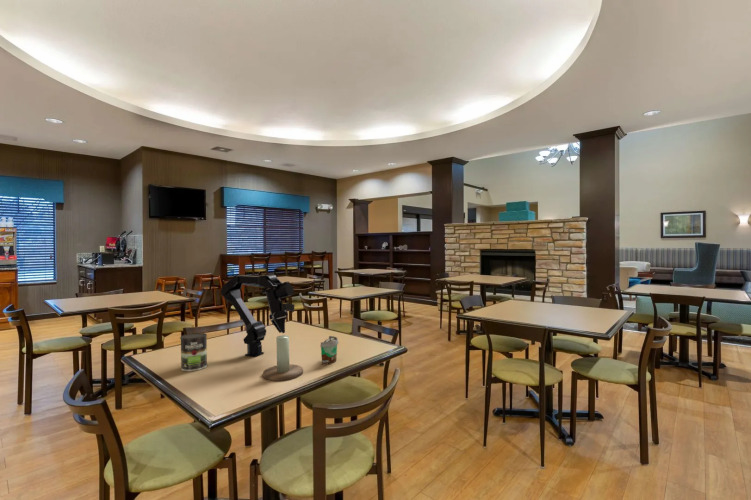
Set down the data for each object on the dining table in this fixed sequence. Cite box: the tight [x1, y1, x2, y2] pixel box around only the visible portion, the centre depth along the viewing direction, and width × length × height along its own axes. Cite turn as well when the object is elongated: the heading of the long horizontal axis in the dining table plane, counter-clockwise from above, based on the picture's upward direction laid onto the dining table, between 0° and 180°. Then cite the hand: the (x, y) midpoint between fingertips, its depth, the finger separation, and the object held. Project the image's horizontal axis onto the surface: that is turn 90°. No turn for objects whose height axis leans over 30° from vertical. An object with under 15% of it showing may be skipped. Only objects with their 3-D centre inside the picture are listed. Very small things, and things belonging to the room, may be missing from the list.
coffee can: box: [180, 332, 208, 372], centre depth 157 cm, size 10×10×14 cm
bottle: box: [275, 334, 290, 373], centre depth 148 cm, size 5×5×14 cm
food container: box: [320, 335, 340, 365], centre depth 163 cm, size 12×6×10 cm, turn 168°
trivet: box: [262, 363, 304, 382], centre depth 148 cm, size 16×16×1 cm
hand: (282, 332), depth 169 cm, fingers open, 9 cm apart
